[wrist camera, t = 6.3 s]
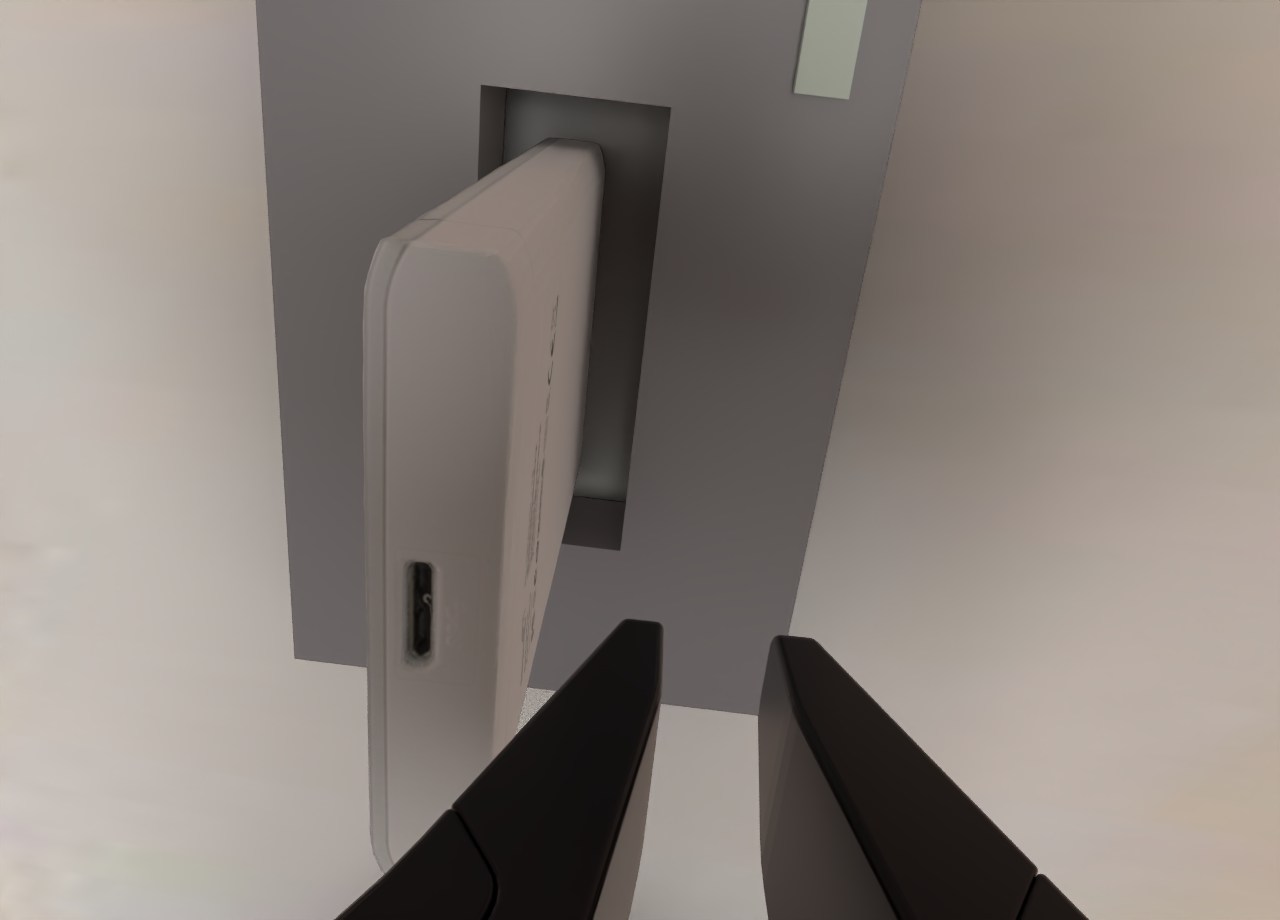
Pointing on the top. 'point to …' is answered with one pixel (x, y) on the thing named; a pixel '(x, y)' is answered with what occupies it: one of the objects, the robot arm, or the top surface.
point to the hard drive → (469, 467)
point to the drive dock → (678, 303)
